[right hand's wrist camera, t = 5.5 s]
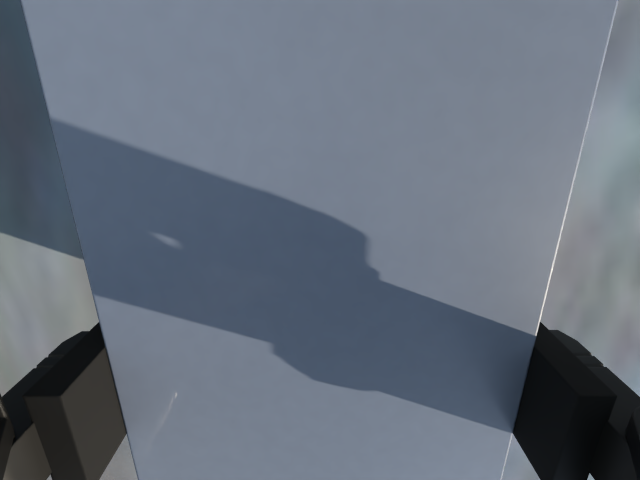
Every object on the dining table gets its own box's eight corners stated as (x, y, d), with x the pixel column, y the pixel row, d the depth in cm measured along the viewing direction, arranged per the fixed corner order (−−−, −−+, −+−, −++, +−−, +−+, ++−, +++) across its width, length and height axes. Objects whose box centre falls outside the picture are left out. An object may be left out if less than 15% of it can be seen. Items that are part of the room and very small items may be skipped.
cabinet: (181, -177, 13) (-251, -1079, 3) (456, -177, 13) (885, -1072, 3) (229, 309, 20) (142, 502, 10) (409, 309, 20) (497, 501, 10)
